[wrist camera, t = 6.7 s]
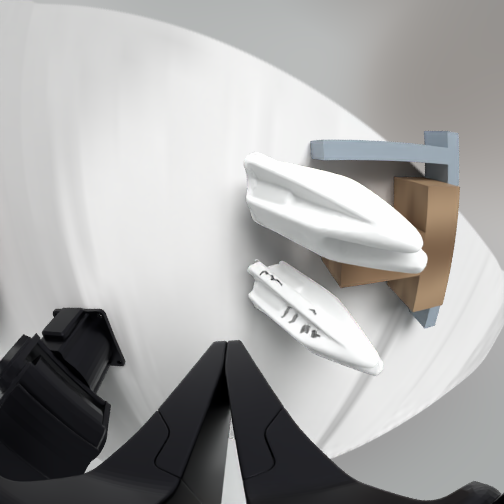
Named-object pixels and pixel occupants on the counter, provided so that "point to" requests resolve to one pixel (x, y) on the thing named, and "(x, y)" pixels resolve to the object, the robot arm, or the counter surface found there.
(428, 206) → the T block
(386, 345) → the counter surface
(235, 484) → the foam cup
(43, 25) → the counter surface
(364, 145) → the corner fence
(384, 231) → the salt and pepper shakers
